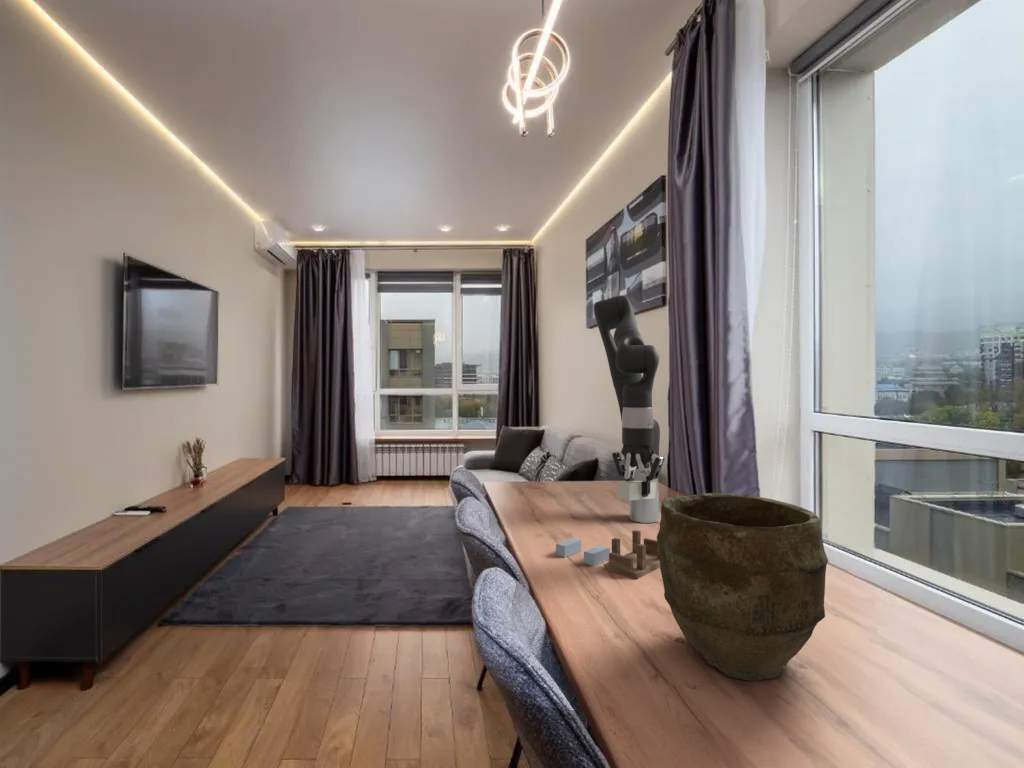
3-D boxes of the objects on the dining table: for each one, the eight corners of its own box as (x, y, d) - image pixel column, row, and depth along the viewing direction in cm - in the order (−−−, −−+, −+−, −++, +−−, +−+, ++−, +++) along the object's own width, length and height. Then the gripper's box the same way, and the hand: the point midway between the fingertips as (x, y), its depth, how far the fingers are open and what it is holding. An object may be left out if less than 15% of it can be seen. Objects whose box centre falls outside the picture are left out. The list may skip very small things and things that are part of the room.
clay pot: (802, 630, 92) (802, 492, 92) (856, 719, 68) (854, 531, 68) (656, 614, 99) (656, 485, 99) (657, 689, 75) (656, 519, 75)
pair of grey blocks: (572, 548, 139) (572, 537, 139) (609, 559, 131) (609, 547, 131) (556, 555, 134) (555, 543, 134) (593, 566, 126) (593, 554, 126)
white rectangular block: (616, 498, 123) (617, 481, 123) (642, 496, 131) (643, 480, 132) (629, 500, 120) (630, 483, 121) (655, 498, 129) (655, 482, 129)
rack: (640, 552, 136) (640, 527, 136) (672, 560, 129) (672, 534, 129) (603, 569, 123) (603, 541, 123) (636, 579, 117) (636, 549, 117)
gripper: (604, 425, 129) (605, 493, 129) (655, 428, 119) (655, 502, 119) (621, 423, 134) (621, 489, 134) (671, 426, 124) (671, 497, 124)
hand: (637, 494), depth 126 cm, fingers closed on white rectangular block, 3 cm apart
